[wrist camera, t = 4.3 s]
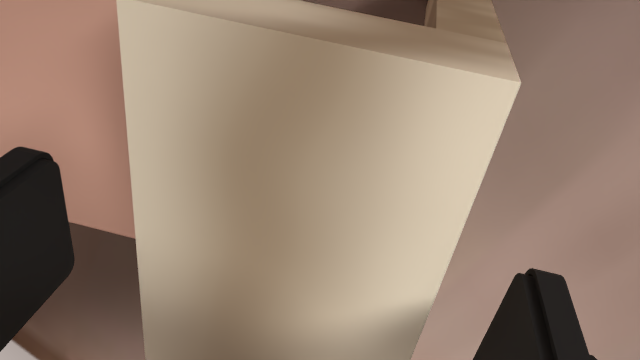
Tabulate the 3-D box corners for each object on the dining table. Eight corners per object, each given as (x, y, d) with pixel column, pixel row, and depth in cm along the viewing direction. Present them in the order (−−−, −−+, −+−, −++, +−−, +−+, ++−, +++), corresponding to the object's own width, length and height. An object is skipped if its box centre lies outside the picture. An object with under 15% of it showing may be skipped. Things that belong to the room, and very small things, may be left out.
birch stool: (481, -27, 14) (520, 83, 7) (402, 227, 19) (381, 430, 12) (267, -69, 14) (115, -4, 7) (247, 189, 19) (145, 365, 12)
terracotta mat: (201, -144, 13) (193, -145, 13) (197, 245, 21) (192, 253, 21) (-257, -229, 15) (-277, -232, 14) (-100, 169, 22) (-110, 175, 22)
